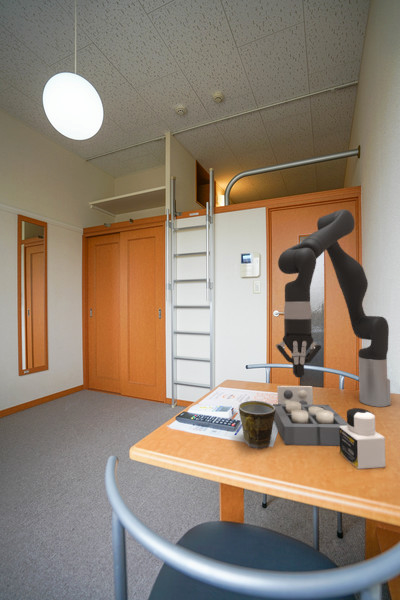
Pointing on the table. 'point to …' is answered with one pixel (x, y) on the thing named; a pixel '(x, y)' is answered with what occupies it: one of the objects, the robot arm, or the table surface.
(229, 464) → the table surface
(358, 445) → the medicine bottle
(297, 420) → the button
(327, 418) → the button
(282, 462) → the table surface
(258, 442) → the ceramic cup
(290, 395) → the card
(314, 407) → the button
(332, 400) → the table surface
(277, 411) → the board
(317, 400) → the table surface
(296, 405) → the button
